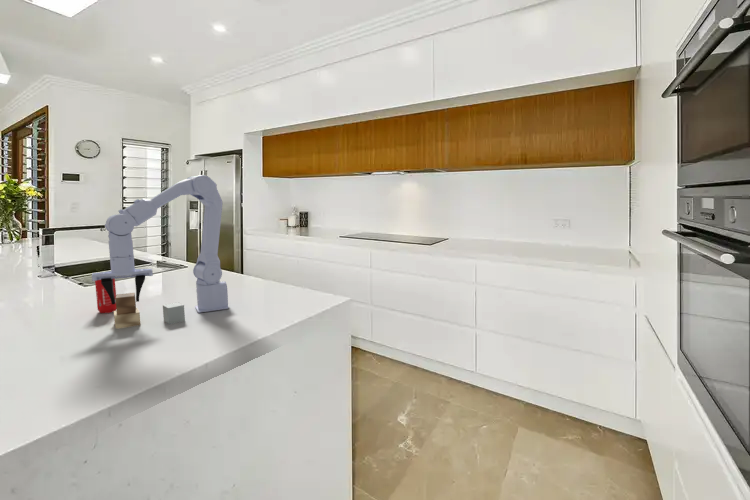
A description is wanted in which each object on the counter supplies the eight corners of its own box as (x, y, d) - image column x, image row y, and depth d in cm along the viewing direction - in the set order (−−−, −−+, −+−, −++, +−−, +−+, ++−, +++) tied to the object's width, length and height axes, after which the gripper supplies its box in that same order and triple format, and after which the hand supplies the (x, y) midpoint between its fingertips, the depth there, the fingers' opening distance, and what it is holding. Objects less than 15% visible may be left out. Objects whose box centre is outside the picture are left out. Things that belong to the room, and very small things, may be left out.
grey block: (179, 317, 117) (178, 302, 116) (185, 321, 114) (184, 305, 113) (163, 321, 114) (162, 305, 113) (168, 324, 111) (167, 308, 110)
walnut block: (136, 308, 113) (134, 292, 112) (135, 312, 109) (134, 295, 108) (118, 310, 111) (116, 294, 110) (117, 315, 107) (115, 297, 106)
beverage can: (107, 314, 120) (104, 277, 118) (93, 313, 121) (90, 276, 119) (121, 309, 125) (118, 274, 123) (108, 308, 126) (105, 273, 124)
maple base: (138, 320, 115) (137, 307, 114) (140, 325, 110) (139, 312, 109) (114, 324, 111) (113, 311, 111) (115, 329, 106) (114, 316, 106)
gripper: (151, 252, 115) (154, 296, 117) (92, 256, 107) (96, 302, 109) (151, 255, 109) (154, 301, 111) (89, 259, 101) (93, 308, 103)
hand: (125, 302), depth 110 cm, fingers open, 5 cm apart
